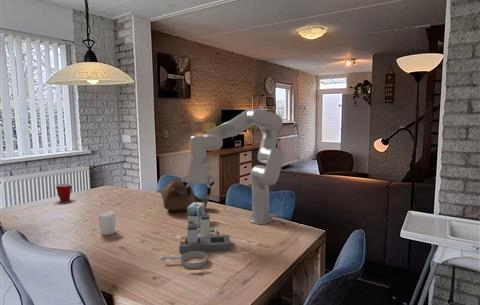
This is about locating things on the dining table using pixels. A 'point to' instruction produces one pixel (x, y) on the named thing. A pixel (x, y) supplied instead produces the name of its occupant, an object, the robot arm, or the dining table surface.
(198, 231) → the tray
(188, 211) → the light bulb box
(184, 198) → the jug
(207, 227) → the plug
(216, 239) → the strip
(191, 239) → the light grey peg
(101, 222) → the white cup
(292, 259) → the dining table surface
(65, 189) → the plastic cup
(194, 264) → the saucepan
